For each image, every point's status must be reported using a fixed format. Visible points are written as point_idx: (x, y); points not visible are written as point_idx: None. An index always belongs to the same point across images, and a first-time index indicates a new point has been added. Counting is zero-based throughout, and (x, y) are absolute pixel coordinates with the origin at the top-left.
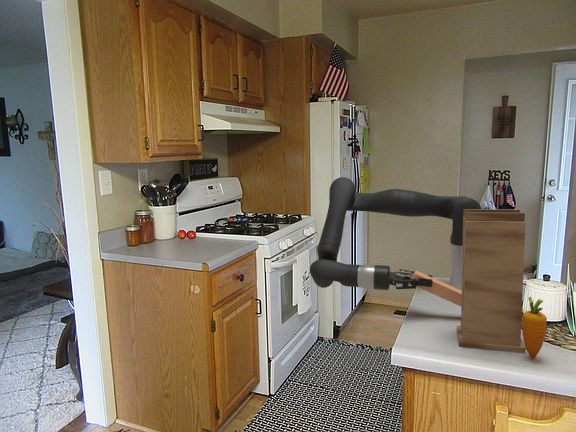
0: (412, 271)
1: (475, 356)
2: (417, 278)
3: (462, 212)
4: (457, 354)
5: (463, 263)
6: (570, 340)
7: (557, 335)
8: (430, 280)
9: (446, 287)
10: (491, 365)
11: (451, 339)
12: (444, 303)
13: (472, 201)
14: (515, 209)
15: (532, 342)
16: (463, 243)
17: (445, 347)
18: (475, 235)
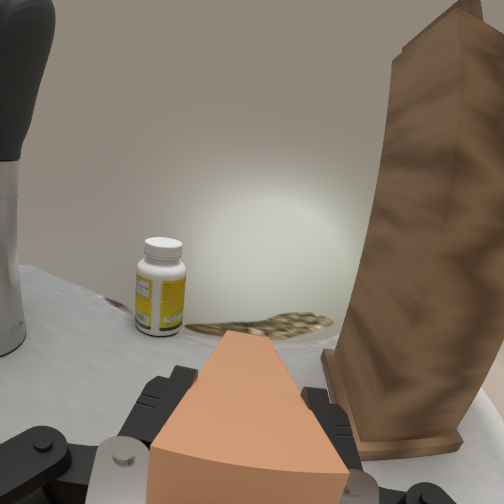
0: (3, 457)
1: (475, 423)
2: (358, 479)
3: (28, 25)
4: (491, 448)
5: (502, 195)
6: (312, 313)
7: (296, 317)
8: (325, 398)
9: (285, 369)
10: (486, 403)
11: (426, 470)
12: (53, 427)
13: (52, 4)
14: (406, 45)
15: None
16: (495, 112)
17: (479, 473)
18: None
